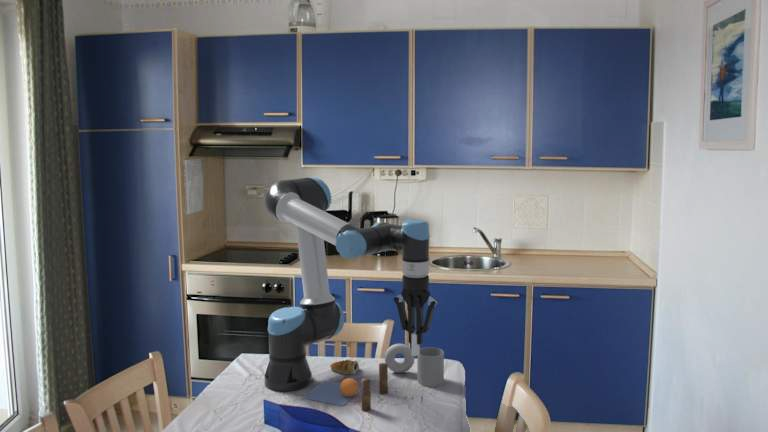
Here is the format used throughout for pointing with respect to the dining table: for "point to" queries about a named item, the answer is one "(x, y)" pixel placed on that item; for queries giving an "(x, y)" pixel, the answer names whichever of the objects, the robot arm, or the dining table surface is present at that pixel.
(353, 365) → the pastry
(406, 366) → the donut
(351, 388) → the ball
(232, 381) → the dining table surface
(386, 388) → the post
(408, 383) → the dining table surface
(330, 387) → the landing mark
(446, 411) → the dining table surface
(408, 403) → the dining table surface
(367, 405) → the post
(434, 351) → the cup
